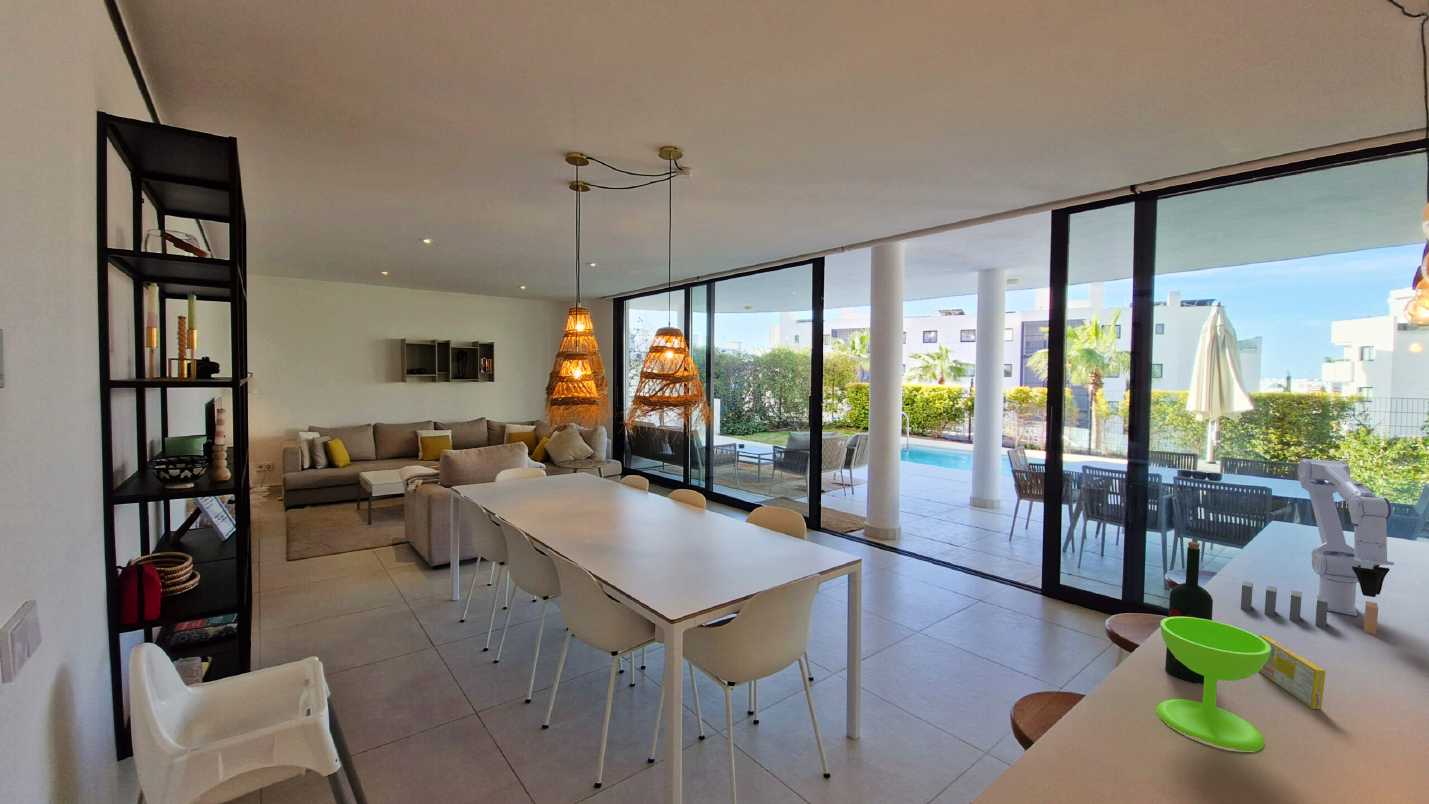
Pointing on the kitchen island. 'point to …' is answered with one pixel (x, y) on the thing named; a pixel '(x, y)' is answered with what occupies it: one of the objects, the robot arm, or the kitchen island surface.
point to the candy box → (1294, 674)
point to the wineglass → (1213, 678)
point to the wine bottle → (1188, 610)
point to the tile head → (1370, 617)
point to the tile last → (1246, 595)
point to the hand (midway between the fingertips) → (1371, 594)
